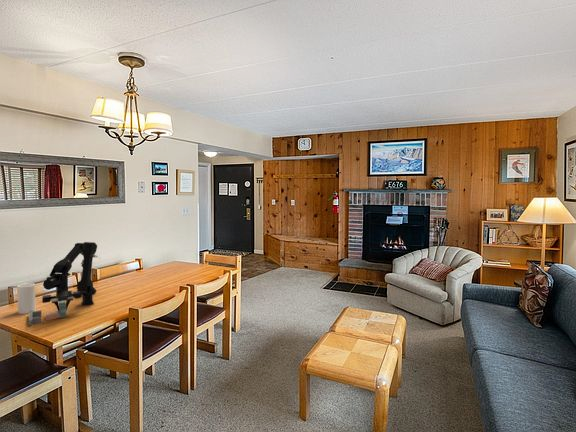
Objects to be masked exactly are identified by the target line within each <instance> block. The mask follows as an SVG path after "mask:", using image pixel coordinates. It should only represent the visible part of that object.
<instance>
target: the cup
mask: <svg viewBox="0 0 576 432" xmlns="http://www.w3.org/2000/svg"><path fill="white" fill-rule="evenodd" d="M16 290H17V313H18V314H20V315H26V314H29V311H30V310H33V311H36V284H35V283H34V282H28V283H21V284H19V285H17V288H16Z"/></svg>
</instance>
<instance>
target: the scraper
mask: <svg viewBox="0 0 576 432" xmlns="http://www.w3.org/2000/svg"><path fill="white" fill-rule="evenodd" d="M58 305H59V318H58V319H60V318H66V317H67V311H66V300H63V301H58Z"/></svg>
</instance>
